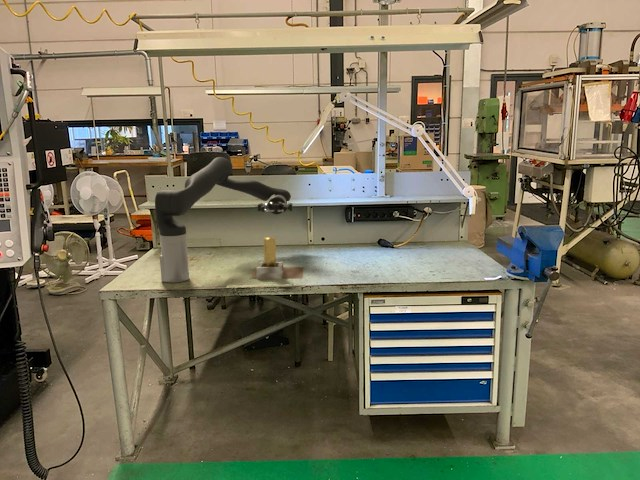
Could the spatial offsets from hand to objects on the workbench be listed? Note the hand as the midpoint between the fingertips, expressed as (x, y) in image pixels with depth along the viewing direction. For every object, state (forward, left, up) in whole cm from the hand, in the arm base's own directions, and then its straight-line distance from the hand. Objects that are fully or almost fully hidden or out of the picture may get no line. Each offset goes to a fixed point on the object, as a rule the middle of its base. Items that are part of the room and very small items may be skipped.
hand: (273, 209), depth 191 cm
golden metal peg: (0, -18, -22) cm, 29 cm away
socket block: (+2, -15, -23) cm, 28 cm away
